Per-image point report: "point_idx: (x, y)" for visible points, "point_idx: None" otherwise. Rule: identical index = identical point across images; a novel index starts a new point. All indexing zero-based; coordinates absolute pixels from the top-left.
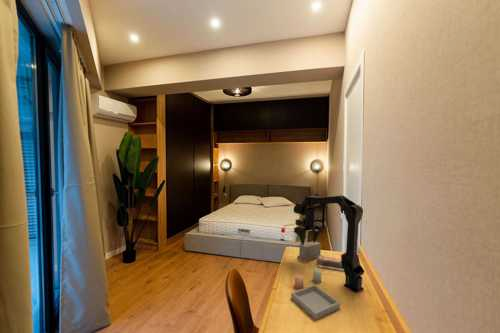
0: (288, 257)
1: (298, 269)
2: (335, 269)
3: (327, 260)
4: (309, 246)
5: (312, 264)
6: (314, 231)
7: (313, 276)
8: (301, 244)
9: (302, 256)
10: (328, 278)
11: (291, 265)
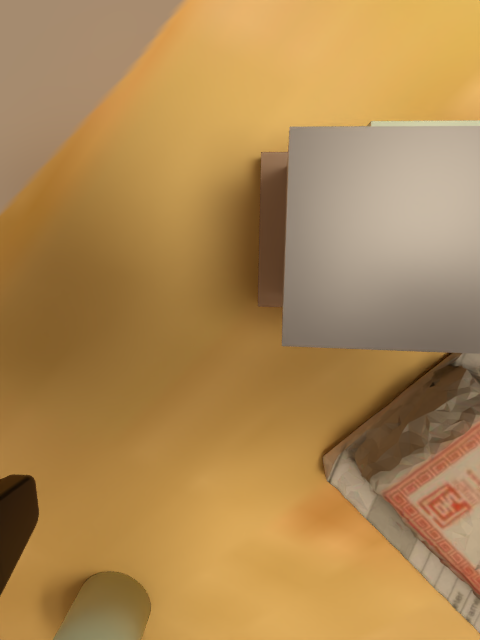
0: (159, 74)
1: (81, 386)
2: (452, 602)
3: (461, 572)
4: (416, 348)
5: (323, 381)
6: None
7: (59, 628)
8: (309, 175)
9: (284, 242)
10: (246, 632)
11: (60, 281)
